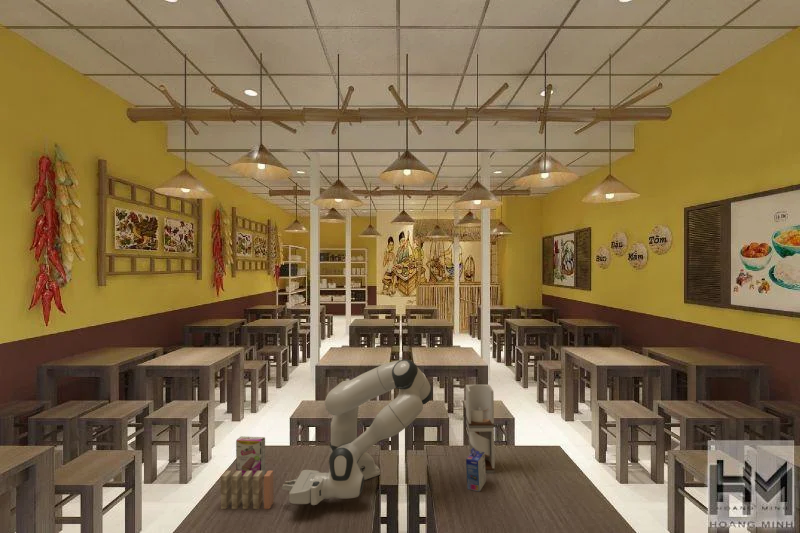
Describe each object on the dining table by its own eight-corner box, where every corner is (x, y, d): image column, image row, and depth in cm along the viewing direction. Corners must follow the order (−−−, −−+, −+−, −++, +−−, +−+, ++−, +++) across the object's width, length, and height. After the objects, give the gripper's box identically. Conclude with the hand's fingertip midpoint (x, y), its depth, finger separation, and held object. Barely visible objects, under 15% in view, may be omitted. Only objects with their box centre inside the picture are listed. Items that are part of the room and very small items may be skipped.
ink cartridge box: (473, 479, 198) (472, 444, 198) (486, 481, 196) (485, 446, 196) (466, 489, 189) (465, 452, 189) (479, 492, 187) (479, 454, 187)
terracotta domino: (273, 502, 181) (273, 470, 181) (269, 508, 176) (269, 476, 176) (268, 502, 181) (268, 470, 181) (264, 508, 176) (263, 476, 176)
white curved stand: (466, 462, 215) (465, 384, 215) (490, 462, 215) (489, 384, 215) (469, 473, 204) (468, 391, 204) (494, 473, 203) (493, 391, 204)
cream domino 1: (231, 502, 181) (231, 470, 181) (226, 508, 176) (226, 476, 176) (226, 502, 181) (226, 470, 181) (221, 508, 176) (220, 476, 176)
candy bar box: (235, 479, 201) (235, 440, 201) (240, 473, 206) (240, 435, 206) (261, 479, 200) (260, 440, 200) (266, 474, 205) (265, 436, 205)
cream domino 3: (252, 502, 181) (252, 470, 181) (248, 508, 176) (247, 476, 176) (247, 502, 181) (247, 470, 181) (242, 508, 176) (242, 476, 176)
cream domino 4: (262, 502, 181) (262, 470, 181) (258, 508, 176) (258, 476, 176) (257, 502, 181) (257, 470, 181) (253, 508, 176) (252, 476, 176)
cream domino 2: (242, 502, 181) (241, 470, 181) (237, 508, 176) (236, 476, 176) (237, 502, 181) (236, 470, 181) (231, 508, 176) (231, 476, 176)
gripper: (325, 465, 188) (290, 465, 188) (314, 489, 167) (275, 489, 168) (325, 481, 188) (290, 481, 188) (314, 507, 167) (275, 507, 168)
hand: (283, 485), depth 178 cm, fingers closed
